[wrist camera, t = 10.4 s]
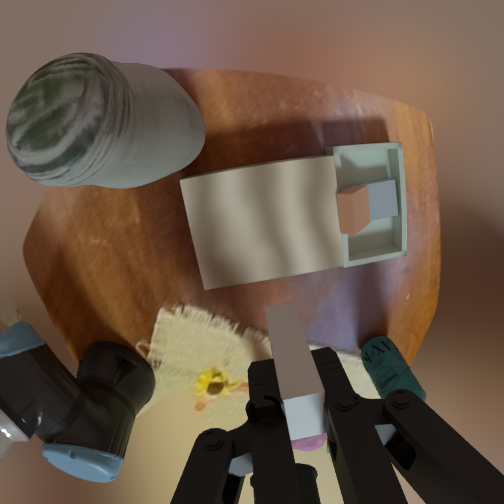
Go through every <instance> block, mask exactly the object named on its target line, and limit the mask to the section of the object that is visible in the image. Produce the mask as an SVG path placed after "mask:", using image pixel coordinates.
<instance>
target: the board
mask: <svg viewBox="0 0 504 504" xmlns="http://www.w3.org/2000/svg"><path fill="white" fill-rule="evenodd" d="M180 184H181V189H182V194H183V199H184V203H185V208H186V213H187V217H188V222H189V226H190V231H191V235H192V239H193V244H194V248H195V252H196V256H197V261H198V265H199V269H200V273H201V277H202V281H203V285H204V289H205V290H208V289H214V288H221V287H227V286H233V285H239V284H245V283H251V282H257V281H263V280H269V279H275V278H281V277H286V276H292V275H298V274H303V273H309V272H314V271H320V270H325V269H330V268H336V267H341V266H343V248H342V234H341V230H340V220H339V211H338V203H337V193H338V188H337V179H336V171H335V162H334V156H332V155H315V156H307V157H299V158H291V159H284V160H277V161H270V162H264V163H257V164H251V165H245V166H239V167H233V168H228V169H222V170H217V171H212V172H207V173H202V174H197V175H192V176H187V177H185V178H183V179H181V180H180Z"/></svg>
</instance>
